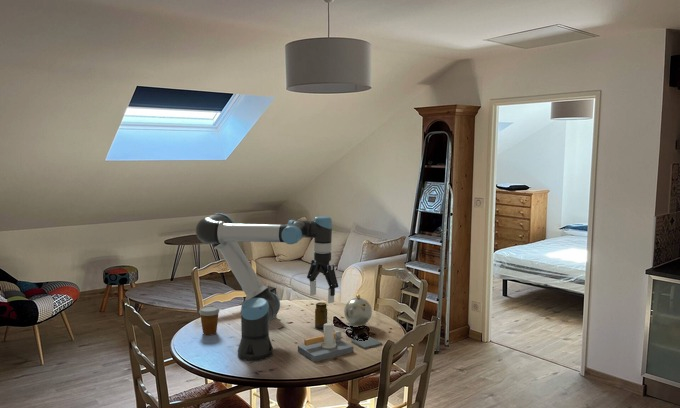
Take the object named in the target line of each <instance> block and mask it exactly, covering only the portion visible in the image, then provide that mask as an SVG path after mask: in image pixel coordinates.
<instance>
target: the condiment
mask: <svg viewBox="0 0 680 408" xmlns="http://www.w3.org/2000/svg"><path fill="white" fill-rule="evenodd" d="M327 308H328V307H327V303H326V302H323V301H322V302H321V301H320V302H317V303H315V311H314V325H311V326H310V327H311V328H313V329H315V330H318V331H321V332H324V324H326V323H328V309H327Z"/></svg>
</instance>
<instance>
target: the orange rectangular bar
mask: <svg viewBox="0 0 680 408" xmlns="http://www.w3.org/2000/svg"><path fill="white" fill-rule="evenodd" d="M334 339H341V340H342V331H341V330H334ZM321 342H324V334H322V335H318V336H313V337H309V338H305V339H304V343H303V344H304V345H305V346H308V345H312V344H316V343H321Z"/></svg>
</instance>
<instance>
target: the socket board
mask: <svg viewBox="0 0 680 408" xmlns="http://www.w3.org/2000/svg"><path fill="white" fill-rule="evenodd" d="M334 342H335V343H336V348H334V349H324V348H322V347H321V343H323V342H321V343H316V344H312V345H308V346H305V345H304V343H303V344H300V345H297V352H298V353H300V354H301V355H303V356H305V357H306V358H308V359H309V360H311V361H312V362H313V363H315V362H319V361H320V362H321V361H323V360H328V359H330V358H331V359H332V358H336V357H338V356H339V357H340V356H343V355H347V354H350V353H354V346H353V345H352V344H349V343H348V342H346V341H344V340H342V338H341V339H334Z"/></svg>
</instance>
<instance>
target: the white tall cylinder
mask: <svg viewBox="0 0 680 408" xmlns="http://www.w3.org/2000/svg"><path fill="white" fill-rule="evenodd" d="M334 332H335V325H334V323H331V322H327V323H326V324H324V331H323V335H324V342H323V343H321V347H322V348H324V349H334V348H336V343H335V342H334Z"/></svg>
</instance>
